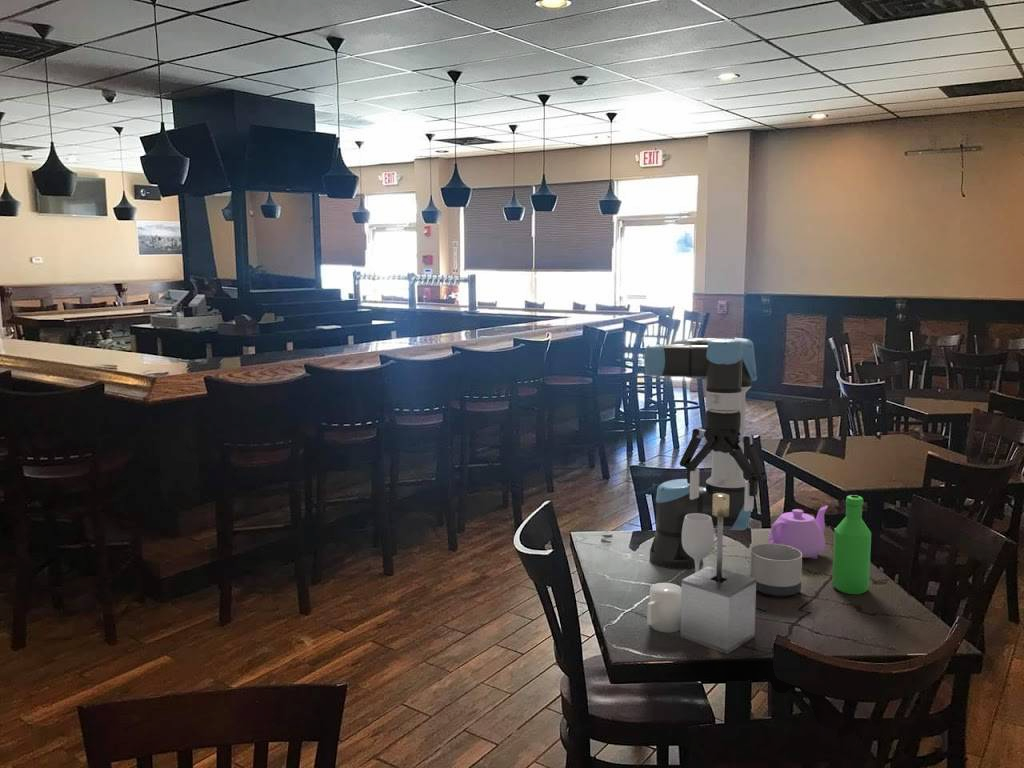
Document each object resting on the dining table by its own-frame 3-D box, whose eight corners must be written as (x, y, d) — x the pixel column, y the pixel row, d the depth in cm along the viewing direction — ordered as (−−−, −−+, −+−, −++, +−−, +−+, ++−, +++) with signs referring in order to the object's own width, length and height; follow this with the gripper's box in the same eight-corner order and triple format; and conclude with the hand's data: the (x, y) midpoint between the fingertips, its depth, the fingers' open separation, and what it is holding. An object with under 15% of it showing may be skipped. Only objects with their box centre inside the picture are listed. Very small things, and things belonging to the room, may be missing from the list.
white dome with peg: (635, 629, 183) (635, 593, 182) (661, 615, 191) (662, 580, 190) (662, 640, 178) (663, 602, 177) (688, 624, 186) (689, 588, 184)
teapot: (806, 541, 242) (808, 498, 240) (846, 557, 228) (849, 511, 226) (751, 552, 233) (752, 507, 231) (789, 570, 219) (791, 522, 217)
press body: (680, 637, 179) (681, 579, 177) (708, 620, 188) (709, 565, 186) (727, 654, 171) (729, 594, 169) (754, 636, 179) (756, 578, 177)
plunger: (689, 594, 178) (691, 495, 175) (711, 582, 184) (713, 487, 181) (726, 606, 171) (729, 504, 168) (747, 593, 178) (750, 495, 175)
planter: (808, 589, 206) (810, 550, 204) (788, 604, 196) (790, 564, 195) (762, 576, 214) (763, 540, 213) (740, 591, 205) (741, 552, 203)
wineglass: (715, 590, 205) (717, 513, 202) (712, 604, 197) (714, 523, 194) (681, 587, 208) (682, 510, 205) (677, 599, 200) (678, 520, 197)
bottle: (872, 596, 200) (877, 502, 197) (835, 594, 202) (840, 500, 198) (863, 583, 209) (868, 492, 205) (829, 581, 210) (833, 491, 207)
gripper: (665, 406, 178) (664, 496, 181) (768, 419, 160) (764, 519, 163) (683, 402, 183) (682, 490, 186) (785, 414, 166) (781, 511, 168)
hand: (720, 504), depth 175 cm, fingers open, 13 cm apart
